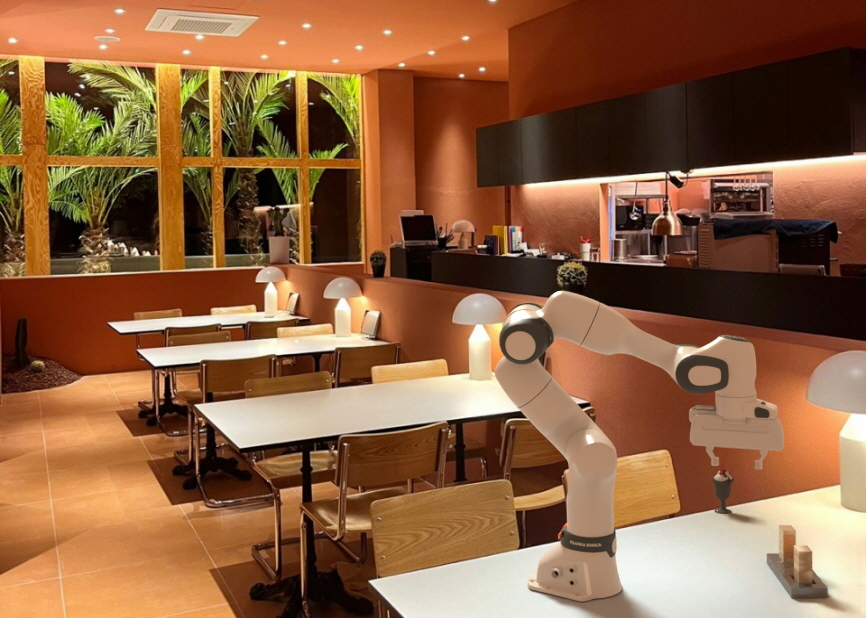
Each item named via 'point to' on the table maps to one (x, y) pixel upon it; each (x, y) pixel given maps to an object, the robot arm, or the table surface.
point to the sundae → (723, 488)
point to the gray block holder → (785, 568)
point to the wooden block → (802, 564)
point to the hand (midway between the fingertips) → (736, 466)
